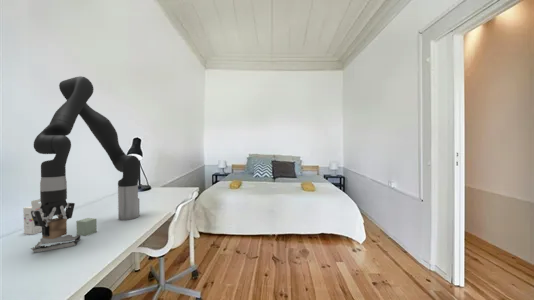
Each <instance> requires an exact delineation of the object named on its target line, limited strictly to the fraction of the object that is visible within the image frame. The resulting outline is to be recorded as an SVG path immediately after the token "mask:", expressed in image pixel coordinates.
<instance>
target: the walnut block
mask: <svg viewBox="0 0 534 300" xmlns="http://www.w3.org/2000/svg"><path fill="white" fill-rule="evenodd" d="M67 222H68V220H67V219H62V218H58V217H55V218H52V220H51V221H50V224H49V234H50V235H49V236H48V237H45V236H43V235H42V234H41V238H48V239H54V238H57V237H60V236H65V235H68V234H67V233H68V232H67V231H68V228H67V227H68V223H67Z"/></svg>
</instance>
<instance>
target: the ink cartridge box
mask: <svg viewBox="0 0 534 300" xmlns="http://www.w3.org/2000/svg"><path fill="white" fill-rule="evenodd" d="M30 201H31V205H30V206H23V210H22V211H23V233H24V235H35V234H40V233H42V227H41V226H35V224H34V221H33V218H32V215H31V211H35V210H38V209H40V207H41V201H40V198H39V199H35V200H34V199H33V200H30ZM41 213H42V214H41V217H42V216H43V212H41ZM47 217H48V216H47Z"/></svg>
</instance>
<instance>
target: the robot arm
mask: <svg viewBox="0 0 534 300" xmlns="http://www.w3.org/2000/svg"><path fill="white" fill-rule="evenodd" d="M58 86H59V88H58V89H59V91H60V93H61V94H62V96H63V98H65V100H66V101H65V102H64V103H63V104H62V105H60V107H59V108H58V109H57V110H56V111H55V113H54V114H53V116H52V117H51V120H50V122H49V124H48V125H47V126H46V127H44V129H43V130H42V131H41V132H40V133H39V134H38V135H36V137H35V138H34V140H33V149H34V150H35V152H36V153H38V154H42V155H55V156H54V158H53V159H49V160H44V161H43V162H41V164H40V182H39V184H40V185H39V190H40V191H39V192H40V194H39V195H40V198H39V199H40V201H41V202H40V203H41V207H40V209H38V210H35V211H31V215H32V218H33V221H34V224H35V226H41V227H42V232H41V236H42V235H43V236H45V237H48V236H49V235H50V234H49V224H50V221H51V220H52V219H54V218H53V217H56V218H62V219H67V221H68V220H69V219H71V218H73V213H74V209H75V205H76V203H74V202H67V199H68V195H67V194H68V189H67V187H68V185H67V176H66V171H67V170H66V165H67V161H68V157H69V155H70V152H71V148H72V141H71V140H70V137H68V136H69V135H70V134H71V132H72V130H73V128H74V126H75V123H76V121H77V118H78V116H80V118H81V119H82V121H83V122H84V123H85V125H86V126H87V127H88V128H89V130H90V131H91V132H90V133H92V135H93V136H94V138H95V139H96V140H97V141H98V143H99V144H100V146H101V147H102V149H104V151H105V152H106V154H107V155H108V157H109V159H110V161H111V163H112V164H113V166H114V168H115V169H116V170H117V171H118V172H120V173H122V178H121V179H119V180H118V182H117V200H118V201H117V204H118V205H117V209H118V210H117V211H118V214H117V215H118V216H117V217H118V220H121V221H127V220H129V221H130V220H134V219H136V218H139V216H140V214H141V213H140V197H139V180H140V178H141V177H140V176H141V175H140V173H141V163H140V159H139V158H138V157H137V156H135V155H128V154H126V153H125V152H124V151H123V149H122V147H121V146H120V143H119V136H118V132H117V130H116V128H115V127H114V125H113V124H112V122H111V120H110V119H109V118H107V117H106V116H105V115H103V114H102V113H99V112H98V111H96V110H95V109H93V108H92V107H91V106H90V105H89V104H88V103H87V102H88V101H89V100H90V98H91V97H92V95H93V93H94V84H93V83H92V82H91V81H90V79H88V78H87V77H86V76H81V75H79V76H74V77H71V78H67V79H65V80H62V81H60V82H59V85H58ZM41 212H43V216H42V217H41V214H42V213H41ZM47 216H48V217H47Z"/></svg>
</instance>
